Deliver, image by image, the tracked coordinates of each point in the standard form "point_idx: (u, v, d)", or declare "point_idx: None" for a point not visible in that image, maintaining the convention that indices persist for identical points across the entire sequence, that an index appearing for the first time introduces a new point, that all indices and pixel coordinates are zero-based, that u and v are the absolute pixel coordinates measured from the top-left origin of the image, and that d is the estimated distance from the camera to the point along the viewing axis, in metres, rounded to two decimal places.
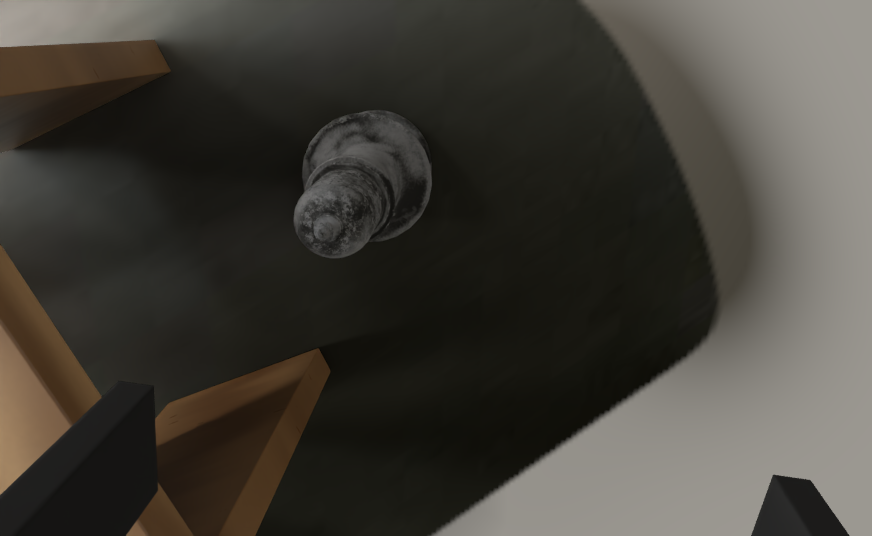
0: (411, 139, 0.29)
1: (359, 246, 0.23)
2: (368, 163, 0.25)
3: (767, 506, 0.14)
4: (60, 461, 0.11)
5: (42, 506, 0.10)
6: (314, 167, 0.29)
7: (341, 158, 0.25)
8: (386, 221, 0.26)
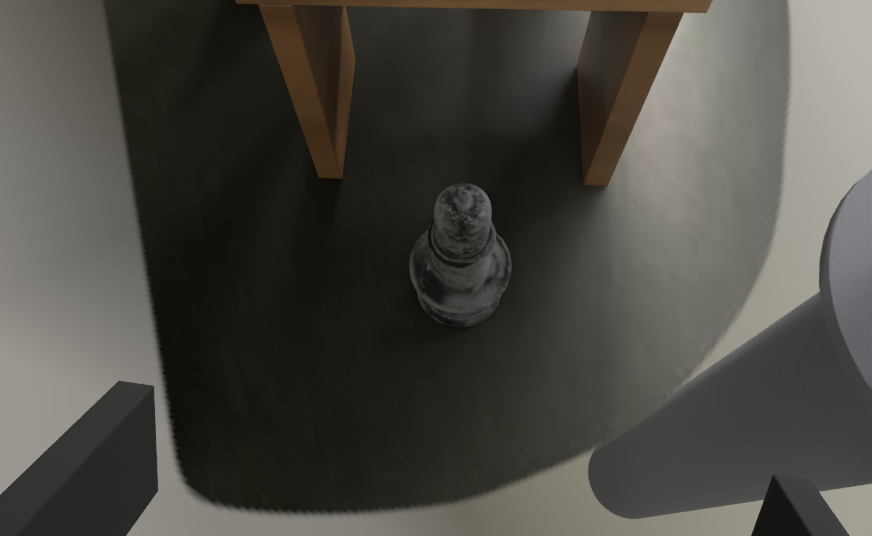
0: (474, 307, 0.37)
1: (438, 216, 0.31)
2: (481, 259, 0.34)
3: (767, 506, 0.14)
4: (60, 461, 0.11)
5: (43, 506, 0.10)
6: None
7: (493, 244, 0.34)
8: (435, 252, 0.34)
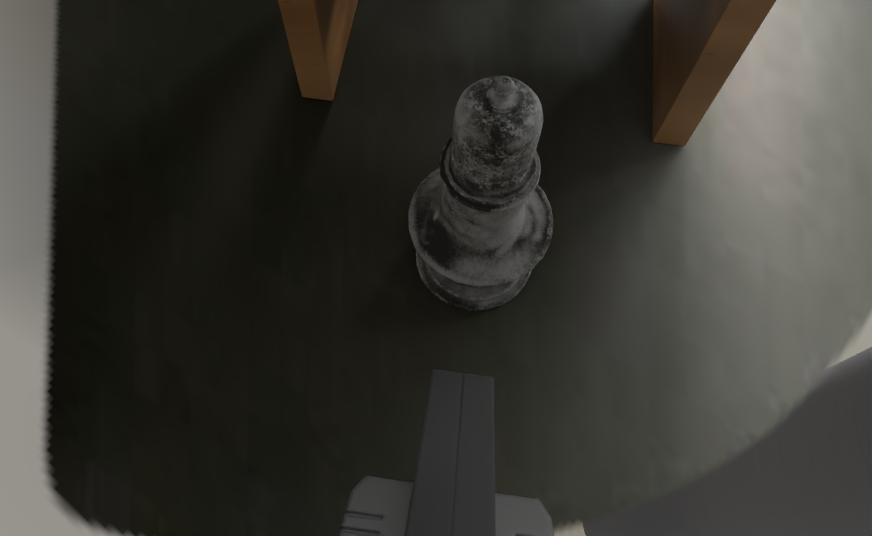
0: (495, 279, 0.26)
1: (460, 119, 0.20)
2: (516, 202, 0.23)
3: None
4: (440, 434, 0.13)
5: (456, 469, 0.12)
6: None
7: (535, 182, 0.23)
8: (449, 185, 0.23)
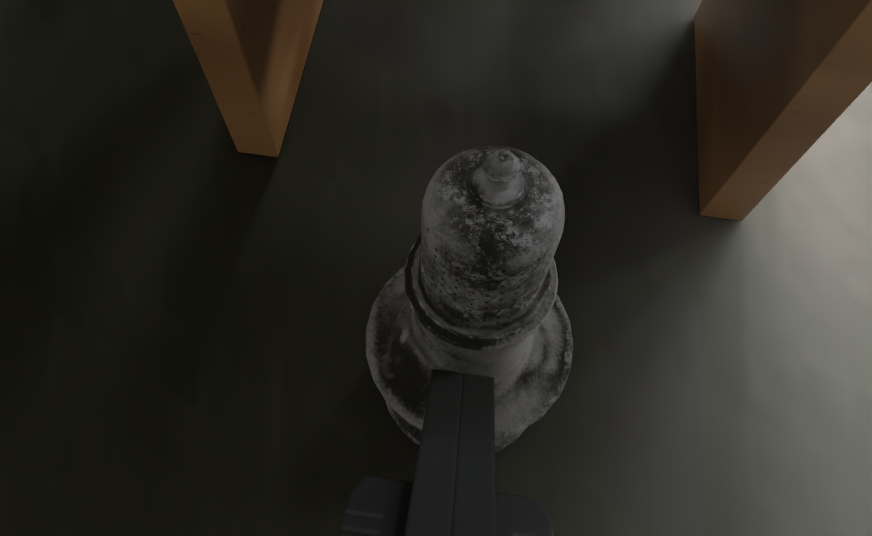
0: None
1: (431, 217, 0.12)
2: (522, 335, 0.15)
3: None
4: (440, 434, 0.13)
5: (456, 469, 0.12)
6: None
7: (550, 303, 0.15)
8: (418, 307, 0.15)
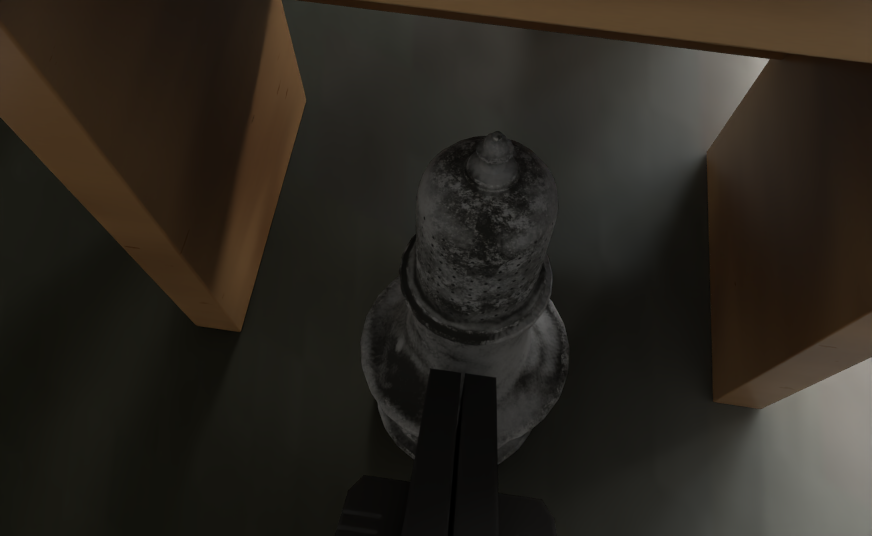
0: None
1: (427, 205, 0.12)
2: (521, 328, 0.15)
3: (461, 400, 0.16)
4: (438, 434, 0.13)
5: (453, 469, 0.12)
6: None
7: (546, 296, 0.15)
8: (415, 305, 0.15)
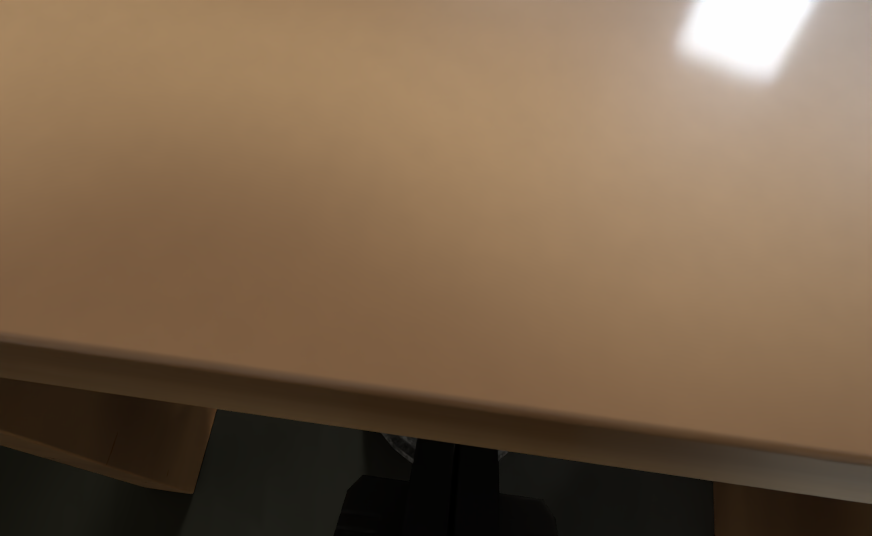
0: None
1: None
2: None
3: None
4: None
5: (451, 468, 0.12)
6: None
7: None
8: None
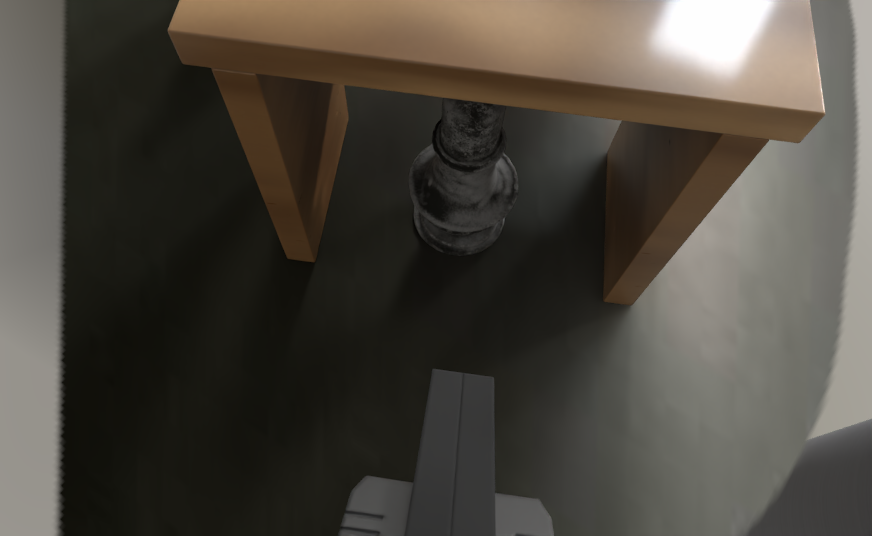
0: (479, 225, 0.34)
1: (448, 106, 0.29)
2: (491, 163, 0.31)
3: None
4: (440, 434, 0.13)
5: (456, 469, 0.12)
6: None
7: (503, 148, 0.31)
8: (441, 155, 0.31)
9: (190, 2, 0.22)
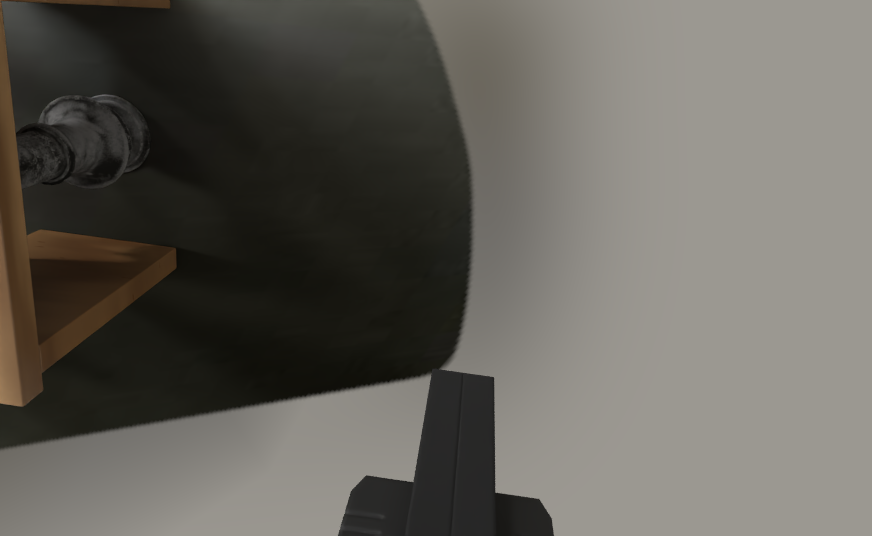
0: (119, 130, 0.41)
1: None
2: (62, 136, 0.37)
3: None
4: (440, 434, 0.13)
5: (456, 469, 0.12)
6: (47, 120, 0.41)
7: (45, 125, 0.37)
8: (64, 177, 0.38)
9: None
